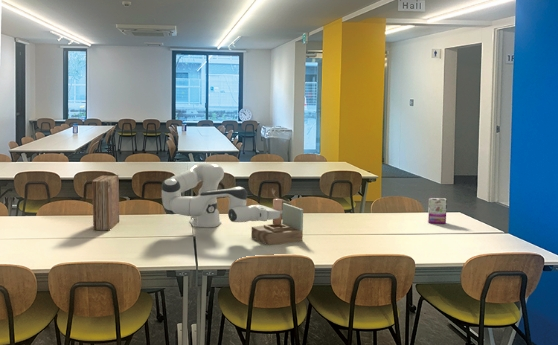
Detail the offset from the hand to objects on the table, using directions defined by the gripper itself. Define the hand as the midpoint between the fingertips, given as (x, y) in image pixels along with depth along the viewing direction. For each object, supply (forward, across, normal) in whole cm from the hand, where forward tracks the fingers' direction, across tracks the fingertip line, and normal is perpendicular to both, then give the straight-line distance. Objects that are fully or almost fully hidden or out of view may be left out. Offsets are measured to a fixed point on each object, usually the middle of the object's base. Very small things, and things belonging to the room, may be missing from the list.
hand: (278, 210), depth 311 cm
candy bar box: (+115, +11, -16) cm, 117 cm away
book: (-79, -72, -16) cm, 108 cm away
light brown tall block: (-1, 0, -8) cm, 8 cm away
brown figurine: (+13, -20, -16) cm, 29 cm away
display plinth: (-1, 0, -16) cm, 16 cm away
